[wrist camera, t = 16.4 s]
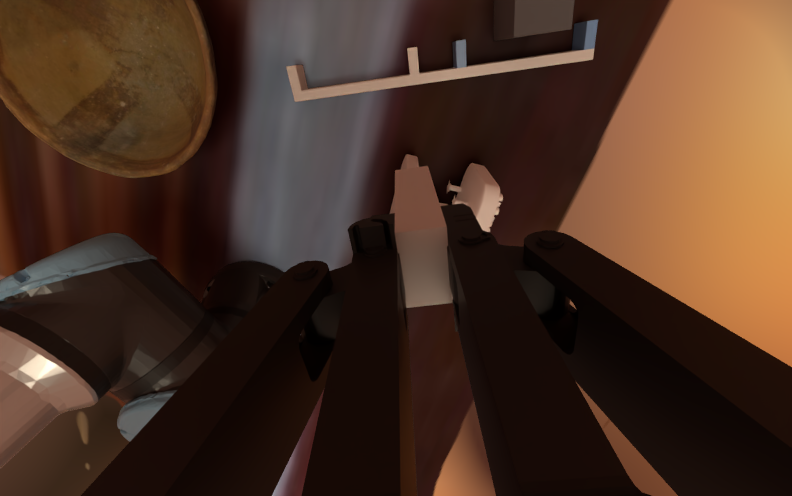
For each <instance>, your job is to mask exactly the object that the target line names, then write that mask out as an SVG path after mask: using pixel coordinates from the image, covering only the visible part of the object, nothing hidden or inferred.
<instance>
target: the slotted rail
mask: <svg viewBox="0 0 792 496" xmlns="http://www.w3.org/2000/svg"><path fill="white" fill-rule="evenodd" d="M597 23H598V20H592V21H586V22H581V23H576V24H574V33H573V42H572V51H565V52H558V53H551V54H544V55H537V56H530V57H523V58H516V59H510V60H503V61H496V62H489V63H482V64H475V65H468V66H466V40H460V41H455V42H452V46H453V68H447V69H441V70H434V71H427V72H420V73H419V64H418V53H417V47H413V48H407V52H408V62H409V72H410V74H406V75H399V76H392V77H385V78H378V79H372V80H365V81H358V82H351V83H344V84H337V85H330V86H323V87H316V88H309V89H308V86H307V82H306V78H305V73H304V69H303V65H294V66H288V67H286V68H287V72H288V76H289V80H290V84H291V88H292V92H293V96H294V100H295V102H298V101H305V100H312V99H319V98H326V97H333V96H340V95H347V94H354V93H361V92H368V91H375V90H382V89H389V88H396V87H403V86H410V85H417V84H424V83H431V82H438V81H445V80H452V79H460V78H467V77H474V76H481V75H488V74H495V73H502V72H509V71H516V70H523V69H530V68H537V67H544V66H551V65H558V64H565V63H572V62H579V61H586V60H593V54H594V46H595V38H596V31H597Z"/></svg>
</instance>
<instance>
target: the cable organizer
mask: <svg viewBox="0 0 792 496" xmlns="http://www.w3.org/2000/svg"><path fill="white" fill-rule="evenodd" d="M416 167H419V165H418V157H417V156H413V155H409V154H406V156H405V158H404V160H403V163H402V166H401V169H408V168H416ZM449 190H451V191H456V192H458V194H457V197H456V199H455V196H454V199H453V200H452V204H460V203H463V204H465V205H467V206H469V207H471V209H472V211H473V213H474V215H475V217H476V219H477V220H478V222H479V224H480V226H481V228H482V230H483V231H486V232H490V228H489V227H491V226H492V221H494V220H493V219H495V217H494V214H495V215H498V213H499V208H498V207H500V204H501V203H499V201H502V200H503V195H502V194H500V187H499V185H498V184H497V183H496V181H495V180H494V179H493V177H492V176H491V174H490V173H489V172H488V170H487V169H486V168H485V166H482V165H478V164H474V163H471V164H470V165H469V166H468V168H467V170H466V172H465V174H464V176H463V179H462V182H461V185H460V187H459V186H455V185H451V184H450V180H449V183H448V185H447V192H449ZM446 194H447V193H446ZM439 204H440V206H445V205H448V204H443V203H439ZM497 206H498V207H497ZM391 213H395V194H394V198H393V202H392V206H391V210H390V214H391ZM452 299H453V297H452Z"/></svg>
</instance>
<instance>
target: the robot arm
mask: <svg viewBox="0 0 792 496" xmlns="http://www.w3.org/2000/svg"><path fill="white" fill-rule="evenodd" d="M348 233H349V237H350V242H351V246H352V250H353V258H352V263H350V264H348V265H347V266H344V267H341V268H338V269H335V270H332V271H329V268H328V265H327V264H326V263H324V262H322V261H305V262H304V263H303V262H301V263H299V264H297V265H295V266H293V267H291V268H290V269H289V270H287V271H286V272H285V273H283V272H281V271H280V270H278V269H276V268H274V267H272V266H269V265H266V264H262V263H258V262H237V263H233V264H230V265H228V266H226V267H224V268H222V269H221V270H220V271H219V272H218V273H217V274H216V275H215V276H214V277H213V278H212V279H211V281H210V282H209V283H208V285H207V287H206V289H205V292H204V295H203V300H202V303H200V302H199V301H198V300H197V299H196V298H195V297H194V296H193V295H192V294H191V293H190V292H189V291H188V290H187V289H186V288H185V287H184V286H182V285H181V284H180V283H179V282H178V281H177V280H176V279H175V278H174V277H173V276H172V275H171V274H170V273H169V272H168V271H167V270H166V269H165V268H164V267H163V266H162V265H161V264H160V263H159V262H158V261H157V258H156V257H155V256H153V255H150V254H149V253H147V252H146V251H145V250H144V249H143V248H142V247H141V246H139V245H138V244H137V243H136V242H135V241H134V240H133V239H131V238H130V237H128V236H126V235H124V234H120V233H108V234H103V235H99V236H96V237H94V238H91V239H88V240H86V241H83V242H81V243H78V244H76V245H73V246H71V247H69V248H66V249H64V250H62V251H59V252H57V253H55V254H53V255H51V256H48V257H46V258H44V259H42V260H40V261H38V262H36V263H34V264H32V265H30V266H28V267H26V268H25V269H24V270H20V271H18V272H16V273H15V274H13V275H10V276H8V277H5V278H4V279H2V280H0V469H1V468H2V467H3V465H5V464H6V463H7V462H8V461H9V460H10V459H11V458H12V457H13V456H14V455H16V454H17V453H18V452H19V451H20V450H21V449H22V448H23V447H24V446H25V445H26V444H27V443H28V442H29V441H31V440H32V439H33V438H34V437H35V436H36V435H37V434H38V433H39V432H40V431H41V430H42V429H43V428H44V427H46V426H47V425H48V424H49V423H50V422H51V421H52V420H53V419H54V418H55V417H56V416H57V415H59V414H61V413H64V412H66V411H70V410H74V409H79V408H84V407H89V406H93V405H94V404H95V403H96V402H97V401H98V400H99V399H100V398H101V397H102V396H103V395H104V394H106V393H107V392H108V391H109V392H111V393H112V394H114V395H115V396H117V397H118V398H119V399H121V400H122V401H124V402H125V403H126V404H125V405H124V406H123V407H122V409H121V410H120V414H119V417H118V420H117V426H118V428H119V429H120V432H121V434H122V435H123V436H124V437H125V438H126V439H127V440H129V441H130V442H129V444H128V445H127V446H126V447H125V448H124V449H123V450H122V451H121V452H120V453H119V454H118V456H117V457H116V458H115V459H114V460H113V461H112V462H111V463H110V464H109V465H108V466H107V468H106V469H105V470H104V471H103V472H102V473H101V474H100V475H99V476H98V478H97V479H96V480H95V481H94V482H93V483H92V484H91V485H90V486H89V487H88V488H87V489H86V491H85V492H84V493H83V494H82V495H81V496H272V494H273V492H274V490H275V488H276V486H277V484H278V482H279V479H280V477H281V475H282V473H283V471H284V469H285V467H286V465H287V463H288V461H289V459H290V457H291V455H292V453H293V451H294V449H295V447H296V445H297V443H298V441H299V439H300V437H301V435H302V432H303V430H304V428H305V426H306V424H307V422H308V420H309V418H310V416H311V414H312V412H313V410H314V408H315V406H316V404H317V402H318V400H319V398H320V396H321V394H322V392H323V390H324V394H323V398H322V403H321V408H320V413H319V417H318V422H317V427H316V431H315V436H314V441H313V445H312V450H311V455H310V459H309V464H308V469H307V473H306V478H305V483H304V487H303V492H302V496H417V481H416V462H415V443H414V424H413V405H412V386H411V368H410V349H409V330H408V316H407V309H406V308H410V307H419V306H428V305H437V304H446V303H452V297H453V306H454V319H455V332H456V331H458V332H459V336H460V341H461V345H462V349H463V354H464V358H465V362H466V367H467V371H468V375H469V380H470V384H471V389H472V393H473V397H474V402H475V406H476V410H477V414H478V419H479V423H480V428H481V432H482V436H483V441H484V445H485V449H486V454H487V458H488V462H489V467H490V471H491V475H492V480H493V484H494V488H495V493H496V496H651V495H648V494H645V493H642V492H641V491H640V490H639V489H638V488H637V487H636V486H635V485H634V484H633V482H632V481H631V479H630V478H629V476H628V475H627V473H626V471H625V469H624V467H623V466H622V464H621V462H620V460H619V458H618V457H617V455H616V453H615V451H614V450H613V448H612V446H611V444H610V442H609V441H608V439H607V437H606V435H605V434H604V432H603V430H602V428H601V426H600V425H599V423H598V421H597V419H596V418H595V416H594V414H593V412H592V410H591V409H590V407H589V405H588V403H587V401H586V400H585V398H584V396H583V394H582V392H581V391H580V389H579V387H578V386H577V384H576V382H577V383H578V384H579V385H580V387H581V388H582V389H583V390H584V391H585V392H586V393H587V394H588V396H590V398H591V399H592V400H593V401H594V402H595V403H596V404H597V406H598V407H599V408H600V409H601V410H602V411H603V412H604V413H605V415H606V416H607V417H608V418H609V419H610V420H611V421H612V422H613V423H614V425H615V426H616V427H617V428H618V429H619V430H620V431H621V432H622V434H623V435H624V436H625V437H626V438H627V439H628V440H629V441H630V442H631V444H632V445H633V446H634V447H635V448H636V449H637V450H638V451H639V452H640V454H641V455H642V456H643V457H644V458H645V459H646V460H647V461H648V463H649V464H650V465H651V466H652V467H653V468H654V469H655V470H656V471H657V473H658V474H659V475H660V476H661V477H662V478H663V479H664V480H665V482H666V483H667V484H668V485H669V486H670V487H671V488H672V489H673V490H674V491H675V492H676V494H677V495H678V496H792V367H790V366H788V365H787V364H785V363H784V362H782V361H780V360H779V359H777V358H775V357H773V356H772V355H770V354H768V353H767V352H765V351H763V350H762V349H760V348H758V347H756V346H755V345H753V344H751V343H750V342H748V341H747V340H745V339H743V338H742V337H740V336H738V335H736V334H735V333H733V332H731V331H730V330H728V329H726V328H725V327H723V326H721V325H720V324H718V323H716V322H714V321H713V320H711V319H710V318H708V317H706V316H704V315H703V314H701V313H699V312H698V311H696V310H694V309H693V308H691V307H689V306H687V305H686V304H684V303H682V302H681V301H679V300H678V299H676V298H674V297H672V296H671V295H669V294H667V293H666V292H664V291H662V290H661V289H659V288H657V287H656V286H654V285H652V284H651V283H649V282H647V281H645V280H644V279H642V278H641V277H639V276H637V275H635V274H634V273H632V272H630V271H629V270H627V269H625V268H624V267H622V266H620V265H619V264H617V263H615V262H614V261H612V260H610V259H608V258H606V257H605V256H603V255H602V254H600V253H598V252H597V251H595V250H593V249H592V248H590V247H588V246H587V245H585V244H583V243H582V242H580V241H578V240H577V239H575V238H573V237H571V236H569V235H567V234H564V233H560V232H556V231H550V230H549V231H548V230H546V231H541V232H535V233H532V234H530V235H528V236H527V237H526V238H525V239H524V247H519V246H505V245H500V244H498V243H497V241H496V239H495V237H494V236H493V235H492V234H491V233H489V232H486V231H483V230H482V228H481V226H480V224H479V222H478V220H477V219H476V217H475V215H474V213H473V211H472V209H471V207H469V206H467V205H465V204H463V203H460V204H452V205H445V206H440V204H439V200H438V197H437V194H436V191H435V188H434V184H433V181H432V178H431V175H430V172H429V168H428V166H423V167H416V168H408V169H401V170H395V213H391V214H383V215H375V216H372V217H371V218H367V219H363V220H360V221H358V222H355V223H354V224H352V225H351V226H350V227H349V229H348ZM570 300H571V301H572V302H573V303H574V305H575V307H576V309H577V310H576V309H575V308H574V307H572V306H571V305H570ZM300 334H301V335H300ZM575 381H576V382H575ZM324 387H325V389H324Z"/></svg>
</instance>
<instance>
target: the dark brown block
mask: <svg viewBox="0 0 792 496" xmlns="http://www.w3.org/2000/svg"><path fill="white" fill-rule="evenodd" d="M573 8H574V0H494V41H498V40H505V39H511V38H518V37H525V36H532V35H539V34H545V33H551V32H557V31H563V30H569V29H571V28H572V18H573Z"/></svg>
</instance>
